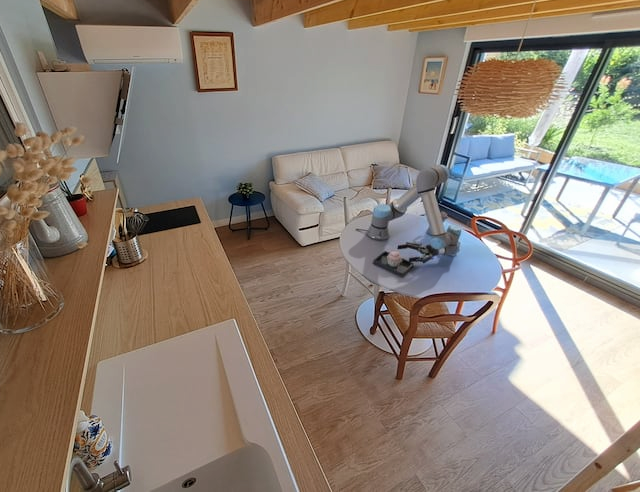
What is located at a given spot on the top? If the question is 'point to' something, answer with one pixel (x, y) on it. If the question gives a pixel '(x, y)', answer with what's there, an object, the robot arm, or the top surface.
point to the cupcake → (394, 259)
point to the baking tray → (399, 270)
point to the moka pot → (444, 217)
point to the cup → (456, 253)
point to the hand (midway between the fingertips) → (403, 253)
